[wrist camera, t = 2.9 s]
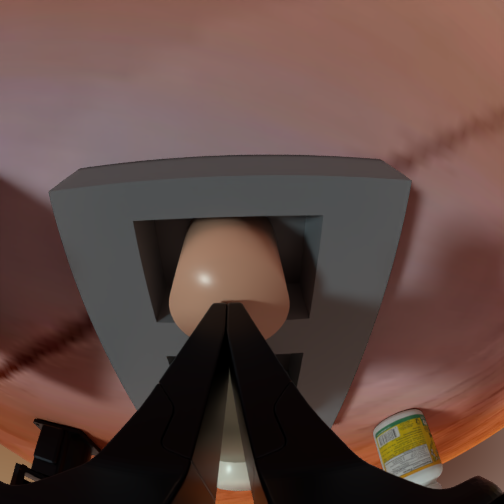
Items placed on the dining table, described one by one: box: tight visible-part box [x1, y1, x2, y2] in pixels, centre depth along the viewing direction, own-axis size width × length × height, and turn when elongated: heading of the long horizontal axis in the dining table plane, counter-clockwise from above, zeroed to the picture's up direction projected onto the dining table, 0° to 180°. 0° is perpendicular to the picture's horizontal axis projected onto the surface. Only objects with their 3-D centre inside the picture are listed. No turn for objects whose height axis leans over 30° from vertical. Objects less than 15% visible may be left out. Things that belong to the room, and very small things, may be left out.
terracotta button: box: [169, 216, 290, 340], centre depth 11 cm, size 4×4×4 cm
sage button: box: [220, 368, 245, 463], centre depth 13 cm, size 4×4×4 cm
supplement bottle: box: [373, 409, 443, 489], centre depth 20 cm, size 5×5×10 cm
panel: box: [49, 155, 412, 429], centre depth 15 cm, size 20×12×3 cm, turn 0°
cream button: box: [217, 461, 251, 491], centre depth 16 cm, size 4×4×4 cm
